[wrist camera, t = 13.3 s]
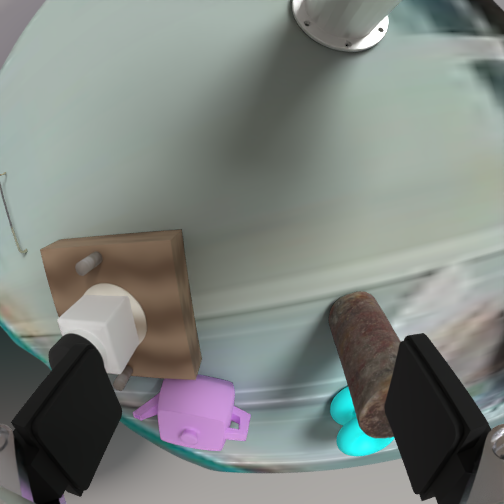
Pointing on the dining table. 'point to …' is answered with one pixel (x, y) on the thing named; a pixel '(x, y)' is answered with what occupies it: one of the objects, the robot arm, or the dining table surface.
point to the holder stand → (134, 294)
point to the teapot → (196, 413)
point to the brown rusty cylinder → (365, 357)
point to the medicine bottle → (99, 330)
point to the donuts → (353, 428)
